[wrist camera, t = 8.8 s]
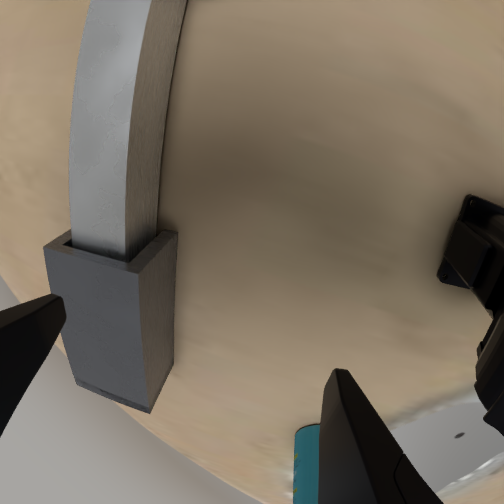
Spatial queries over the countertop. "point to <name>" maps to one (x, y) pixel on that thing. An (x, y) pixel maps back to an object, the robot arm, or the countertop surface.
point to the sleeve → (117, 317)
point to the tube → (306, 465)
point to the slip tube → (120, 123)
